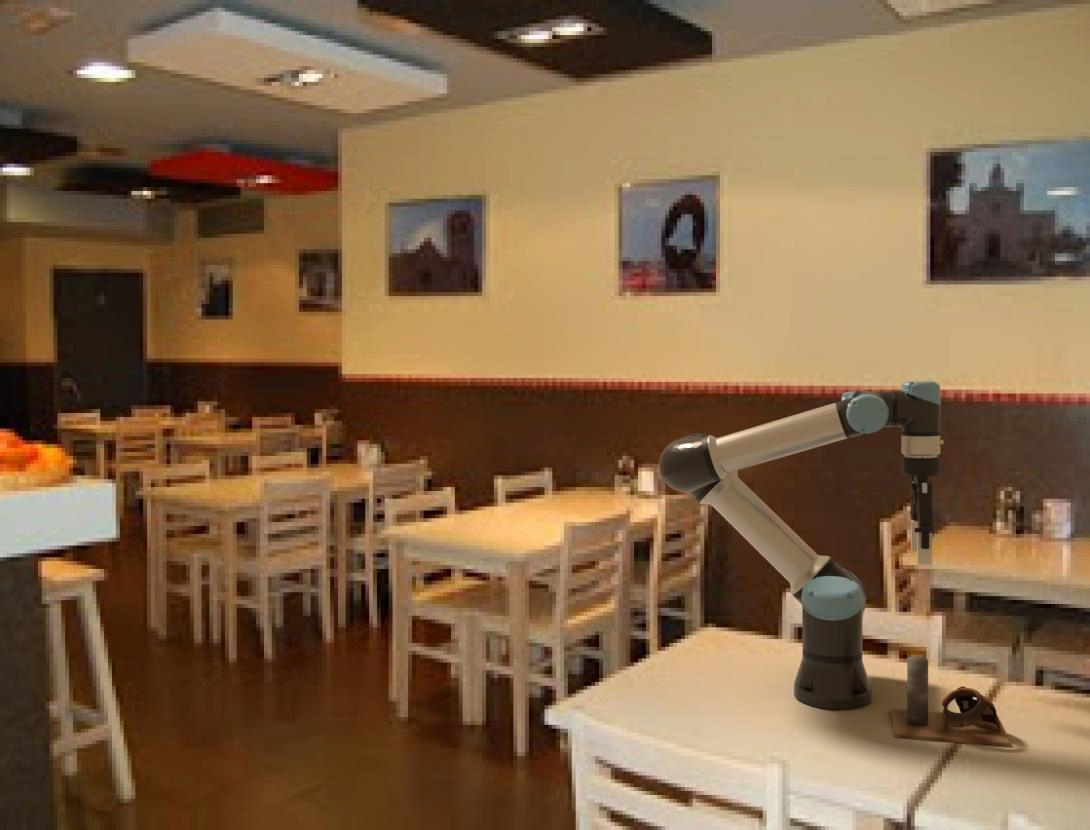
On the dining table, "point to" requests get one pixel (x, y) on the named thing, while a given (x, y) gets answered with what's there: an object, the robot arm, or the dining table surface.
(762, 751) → the dining table surface
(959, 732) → the brown board with post
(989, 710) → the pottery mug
